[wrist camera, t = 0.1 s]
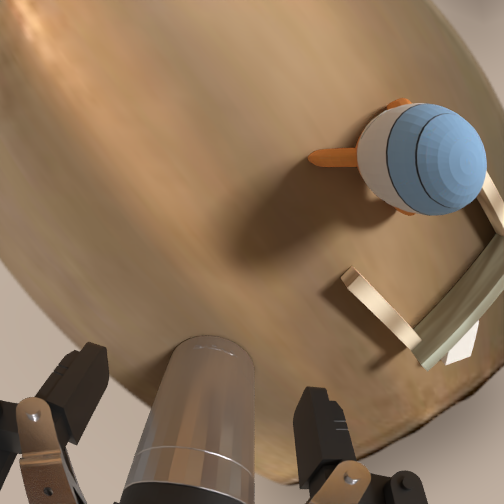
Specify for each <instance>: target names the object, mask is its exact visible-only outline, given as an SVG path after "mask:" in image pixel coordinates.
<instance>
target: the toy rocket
mask: <svg viewBox="0 0 504 504" xmlns="http://www.w3.org/2000/svg"><path fill="white" fill-rule="evenodd" d="M308 161H310V162H311V163H313V164H314V165H317V166H322V167H357V168H358V170H359V172H360V174H361V176H362V178H363V180H364V181H365V183H366V184H367V186H368V187H369V188H370V189H371V190H372V191H373V193H374V194H375V195H377V196H378V197H379V198H381V199H382V200H384V201H385V202H386V203H388V204H390V205H392V206H393V207H394V208H395V209H396V210H398V211H399V212H401V213H403V214H405V215H408V216H411V215H414V214H415V213H417V214H422V215H429V216H430V215H445V214H448V213H452V212H455V211H457V210H459V209H461V208H463V207H464V206H466V205H467V204H469V203H471V202H472V201H473V200H474V199H475V198H476V197H477V195H478V194H479V192H480V190H481V188H482V186H483V183H484V180H485V176H486V169H487V164H486V154H485V150H484V146H483V143H482V141H481V139H480V137H479V135H478V134H477V132H476V131H475V129H474V128H473V127H472V126H471V125H470V124H469V123H468V122H467V121H466V120H465V119H464V118H462V117H461V116H460V115H458V114H457V113H455V112H453V111H451V110H449V109H447V108H444V107H442V106H438V105H433V104H427V103H415V104H412V103H411V102H410V101H409V100H408V99H405V98H400V99H397V100H395V101H393V102H391V103H389V105H388V106H387V110H386V111H384V112H383V113H381V114H380V115H378V116H377V117H375V118H374V119H372V120H371V121H370V122H369V124H368V125H367V126H366V127H365V129H364V130H363V132H362V134H361V135H360V137H359V139H358V141H357V144H356V147H355V148H337V149H322V150H317V151H314V152H313V153H311V154H310V155H309V156H308Z"/></svg>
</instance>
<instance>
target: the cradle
mask: <svg viewBox="0 0 504 504" xmlns="http://www.w3.org/2000/svg"><path fill="white" fill-rule="evenodd" d="M476 198H477V199H478V201H479V203H480V205H481V206H482V208H483V210H484V212H485V213H486V215H487V217H488V219H489V221H490V223H491V225H492V226H493V228H494V230H495V232H496V234H495V236H494V237H493V238H492V240H491V241H490V243H489V244H488V245H487V246H486V248H485V249H484V250H483V252H482V253H481V254H480V256H479V257H478V258H477V259H476V261H475V262H474V263H473V264H472V266H471V267H470V268H469V269H468V270H467V272H466V273H465V274H464V275H463V276H462V277H461V279H460V280H459V281H458V282H457V283H456V284H455V286H454V287H453V288H452V289H451V290H450V291H449V292H448V293H447V295H446V296H445V297H444V298H443V299H442V300H441V301H440V302H439V303H438V304H437V305H436V306H435V308H434V309H433V310H432V311H431V312H430V313H429V314H428V315H427V316H426V317H425V318H424V319H423V320H422V321H421V322H420V323H419V324H418V325H417V326H416V327H415V328H414V329H412V328H411V326H410V325H409V324H408V323H407V322H406V321H405V320H404V319H403V318H402V317H401V316H400V315H399V313H398V312H397V311H396V310H395V309H394V308H393V307H392V306H391V305H390V304H389V303H388V302H387V301H386V300H385V299H384V298H383V297H382V296H381V295H380V293H379V292H378V291H377V290H376V289H375V288H374V287H373V286H372V285H371V284H370V283H369V282H368V281H367V280H366V279H365V278H364V277H363V276H362V275H361V274H360V273H359V272H358V271H357V270H356V269H355V268H354V267H353V266H351V267H350V268H349V269H348V270H347V271H346V272H345V273H344V274H343V275H342V276H341V277H340V278H341V280H342V281H343V283H344V284H345V286H346V287H347V288H348V289H349V290H350V291H351V292H352V293H353V294H354V295H355V296H356V297H357V298H358V299H359V300H360V301H361V302H362V303H363V304H364V305H365V306H366V307H367V308H368V309H370V310H371V311H372V312H373V313H374V314H375V315H376V316H377V317H378V318H379V319H380V320H381V321H382V322H383V323H384V324H385V325H386V326H387V327H388V328H389V329H390V330H391V331H392V332H393V333H394V334H395V335H396V336H397V337H398V338H399V339H400V340H401V341H402V342H403V343H404V344H405V345H406V346H407V347H408V348H409V349H410V350H411V351H412V353H413V354H414V355H415V357H416V358H417V360H418V361H419V363H420V364H421V365H422V366H423V367H424V368H425V369H426V370H427V371H429V370H430V369H431V368H432V367H433V366H434V365H435V364H436V363H437V362H438V361H439V360H440V359H441V358H442V357H443V356H444V355H446V354H447V353H448V352H449V351H450V350H451V349H452V348H453V347H454V346H455V344H456V343H457V342H458V341H459V340H460V339H461V338H462V337H463V336H464V335H465V334H466V333H467V332H468V331H469V330H470V329H471V328H472V326H473V325H474V324H475V323H476V322H477V321H478V320H479V319H480V317H481V316H482V315H483V314H484V313H485V312H486V310H487V309H488V308H489V307H490V306H491V304H492V303H493V302H494V301H495V300H496V298H497V297H498V296H499V295H500V293H501V292H502V291H503V289H504V202H503V200H502V198H501V196H500V195H499V193H498V191H497V189H496V187H495V185H494V183H493V182H492V180H491V178H490V176H489V174H488V173H487V171H486V176H485V180H484V183H483V186H482V188H481V190H480V192H479V194H478V195H477V197H476Z"/></svg>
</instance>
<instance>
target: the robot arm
mask: <svg viewBox="0 0 504 504" xmlns="http://www.w3.org/2000/svg"><path fill="white" fill-rule="evenodd" d="M108 381H109V369H108V359H107V349H106V347H103V346H100V345H97V344H94V343H91V342H87V343H86V344H85V346H84V347H83V349H82V350H81V351H80V352H79V351H76V350H74V351H72V352H71V353H69V354H67V355H66V356H65V357H64V358H63V359H62V360H61V362H60V363H59V366H57V367H56V369H55V370H54V372H53V373H52V374H51V375H50V376H49V378H48V379H47V380H46V382H45V383H44V385H43V386H42V387H41V389H40V390H39V392H38V393H37V394H36V396H35V397H29V398H25V399H23V400H22V401H21V402H20V403H18V404H17V403H11V402H6V401H1V400H0V490H1V488H2V486H3V483H4V481H5V479H6V477H7V475H8V472H9V470H10V468H11V466H12V464H13V462H14V460H15V458H16V455H17V454H22V458H20V461H19V463H20V468H21V473H22V477H23V482H24V486H25V490H26V494H27V498H28V501H29V504H87V502H86V500H85V498H84V496H83V494H82V491H81V489H80V487H79V484H78V482H77V479H76V476H75V473H74V471H73V467H72V465H71V461H70V458H69V455H68V452H67V449H66V445H67V443H68V442H70V443H73V444H75V445H77V444H78V442H79V440H80V438H81V436H82V434H83V432H84V430H85V428H86V426H87V424H88V422H89V420H90V418H91V416H92V414H93V412H94V410H95V409H96V406H97V405H98V403H99V401H100V399H101V397H102V395H103V393H104V391H105V390H106V388H107V385H108ZM254 397H255V388H254V365H253V362H252V360H251V358H250V356H249V355H248V354H247V353H246V351H245V350H244V349H243V348H241V347H240V346H239V345H237V344H236V343H234V342H232V341H229V340H227V339H224V338H220V337H215V336H198V337H194V338H190V339H188V340H186V341H184V342H182V343H181V344H180V345H178V346H177V347H176V349H175V350H174V351H173V353H172V356H171V358H170V361H169V363H168V366H167V368H166V371H165V374H164V376H163V378H162V381H161V384H160V386H159V389H158V392H157V394H156V397H155V400H154V403H153V405H152V408H151V411H150V414H149V417H148V419H147V422H146V425H145V428H144V430H143V433H142V436H141V439H140V442H139V445H138V448H137V451H136V453H135V456H134V460H133V463H132V466H131V469H130V472H129V475H128V478H127V481H126V484H125V487H124V491H123V493H122V496H121V500H120V503H117V502H114V503H113V504H255V502H254V500H255V498H254V496H255V495H254V493H255V483H254ZM345 421H346V420H345V416H344V413H343V410H342V409H341V407H340V406H339V405H338V403H337V402H336V401H329V398H328V394H327V390H326V389H325V388H319V387H306V388H305V390H304V392H303V394H302V397H301V399H300V401H299V403H298V405H297V408H296V410H295V413H294V418H293V428H294V437H295V446H296V456H297V465H298V475H299V485H300V489H309V492H310V498H309V499H308V501H307V502H306V503H305V504H428V502H427V498H426V495H425V492H424V488H423V485H422V482H421V480H420V478H419V477H418V476H417V475H416V474H414V473H413V472H410V471H399V472H397V473H396V474H394V475H393V476H392V477H386V476H381V475H375V474H372V473H370V472H369V470H368V469H367V468H366V466H364V465H363V464H361V463H359V462H357V460H356V457H355V453H354V449H353V446H352V442H351V438H350V434H349V431H348V427H347V423H346V422H345Z"/></svg>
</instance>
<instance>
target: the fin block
mask: <svg viewBox="0 0 504 504" xmlns="http://www.w3.org/2000/svg"><path fill="white" fill-rule="evenodd" d="M478 324H479V321H477V322H476V323H475V324H474V325H473V326H472V328H471V329H470V330H469V331H468V332H467V333H466V334H465V335H464V336H463V337H462V338H461V339H460V340H459V341H458V342H457V343H456V344H455V346H454V347H453V348H452V349H451V350H450V351H449V352H448V353H447V354H446V355H444V356H443V357H442V358H441V360H442V361H443V363H444V364H445V365H447V364H450V363H453V362H456V361H459V360H461V359H464V358H467V357H469V356H471V353H472V349H473V345H474V341H475V337H476V333H477V329H478Z"/></svg>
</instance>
